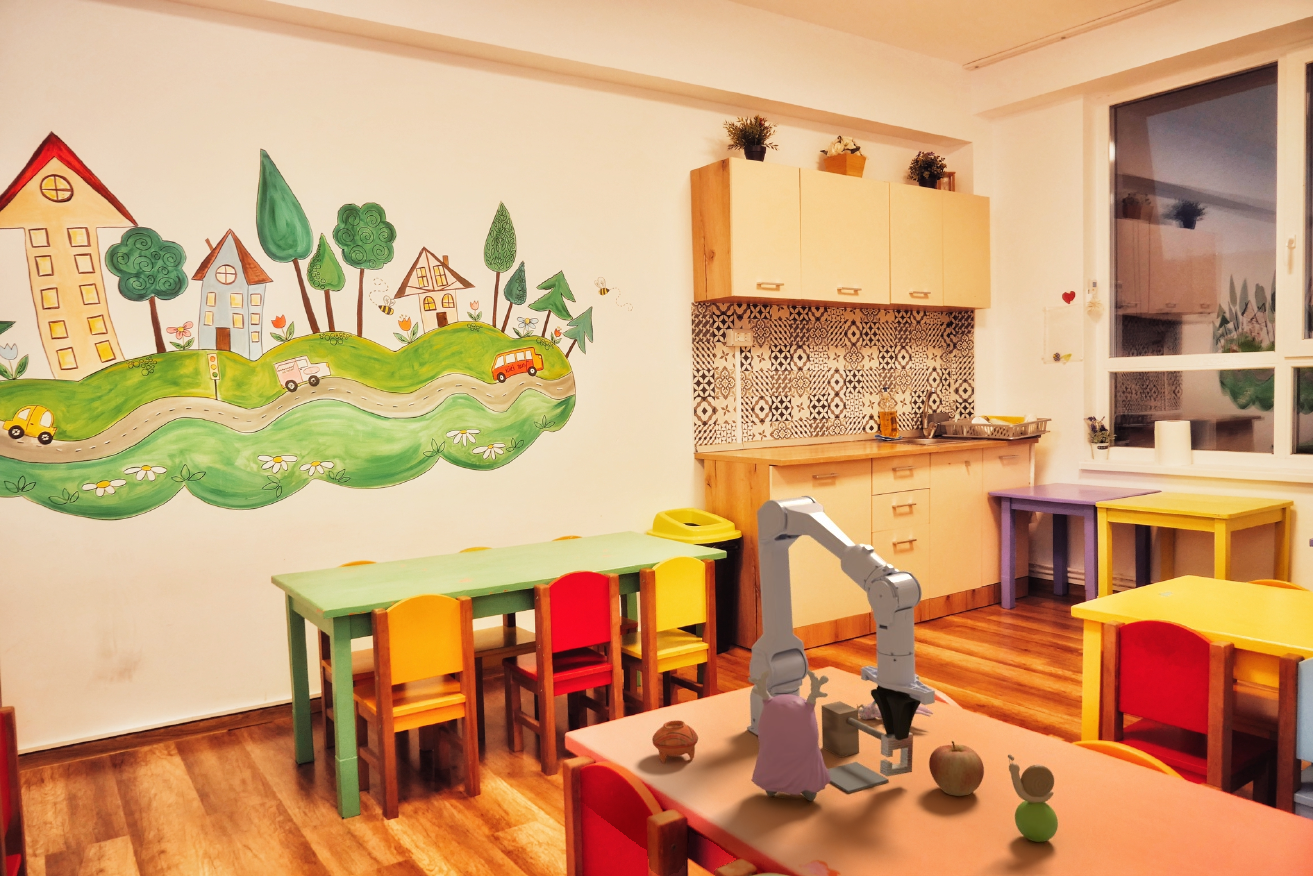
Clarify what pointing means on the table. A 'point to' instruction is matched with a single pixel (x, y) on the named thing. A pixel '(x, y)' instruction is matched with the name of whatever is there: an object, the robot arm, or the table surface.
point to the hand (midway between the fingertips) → (897, 736)
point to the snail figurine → (1034, 802)
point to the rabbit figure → (873, 711)
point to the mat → (855, 777)
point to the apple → (956, 769)
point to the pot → (675, 740)
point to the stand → (843, 729)
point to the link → (887, 749)
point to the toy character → (789, 742)
